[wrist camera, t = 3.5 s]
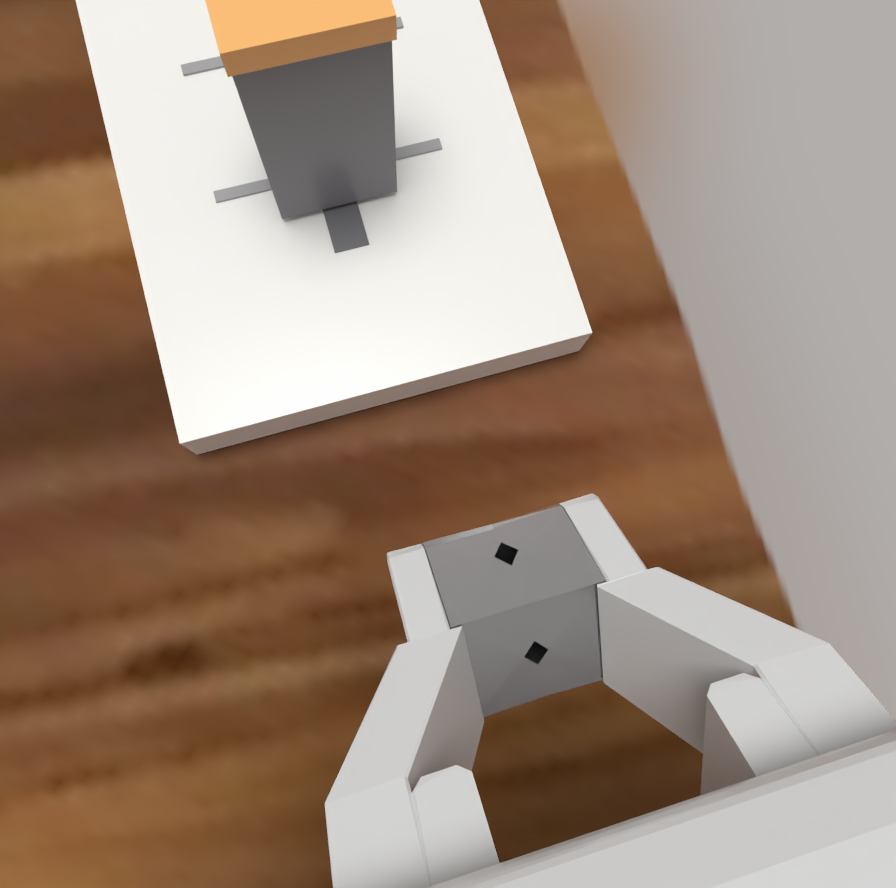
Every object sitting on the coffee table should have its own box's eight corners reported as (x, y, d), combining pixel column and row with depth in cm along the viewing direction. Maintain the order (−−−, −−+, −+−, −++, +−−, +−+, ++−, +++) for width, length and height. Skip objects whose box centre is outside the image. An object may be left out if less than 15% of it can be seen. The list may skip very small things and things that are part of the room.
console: (579, 351, 27) (592, 331, 25) (197, 454, 26) (178, 443, 24) (374, -257, 32) (372, -316, 30) (42, -197, 30) (15, -254, 28)
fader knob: (400, 193, 26) (396, 15, 18) (279, 222, 25) (219, 53, 17) (375, 111, 26) (360, -98, 18) (257, 139, 26) (188, -63, 18)
